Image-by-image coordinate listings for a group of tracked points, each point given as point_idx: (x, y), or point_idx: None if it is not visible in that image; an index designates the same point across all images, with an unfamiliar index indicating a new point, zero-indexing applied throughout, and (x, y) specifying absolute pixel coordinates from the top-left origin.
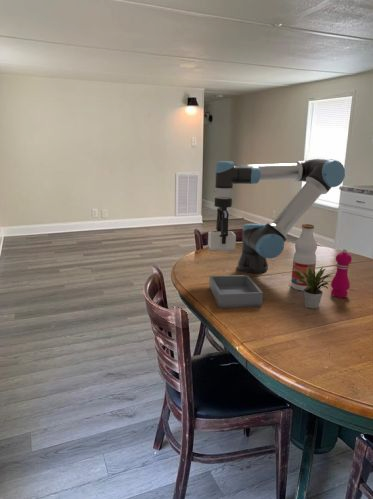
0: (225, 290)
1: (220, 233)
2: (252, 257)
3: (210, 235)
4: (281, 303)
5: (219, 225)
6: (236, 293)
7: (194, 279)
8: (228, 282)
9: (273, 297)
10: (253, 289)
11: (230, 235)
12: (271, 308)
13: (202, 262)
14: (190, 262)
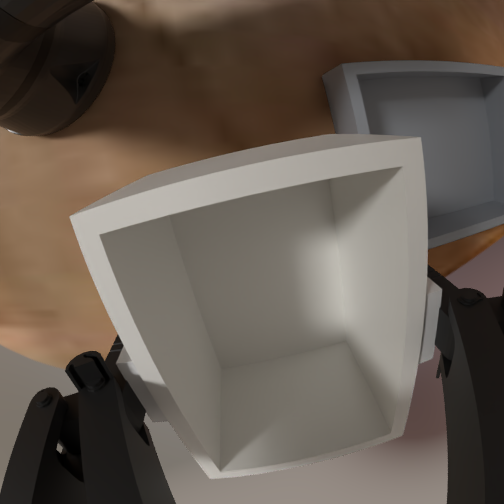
0: None
1: (175, 377)
2: (62, 40)
3: (359, 442)
4: (448, 6)
5: (163, 490)
6: None
7: None
8: None
9: (411, 8)
10: (446, 74)
11: (427, 238)
12: (483, 50)
13: (35, 297)
14: (55, 339)
